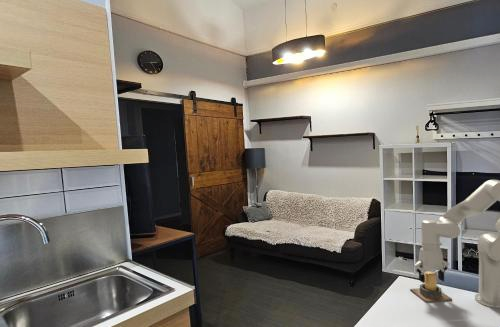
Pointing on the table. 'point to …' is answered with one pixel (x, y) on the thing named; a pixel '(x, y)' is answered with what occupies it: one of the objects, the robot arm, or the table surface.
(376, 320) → the table surface
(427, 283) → the pale yellow cylinder
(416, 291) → the mount plate
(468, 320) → the table surface
